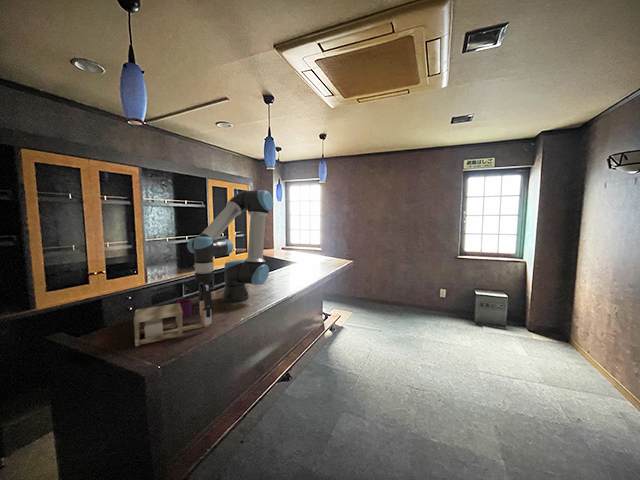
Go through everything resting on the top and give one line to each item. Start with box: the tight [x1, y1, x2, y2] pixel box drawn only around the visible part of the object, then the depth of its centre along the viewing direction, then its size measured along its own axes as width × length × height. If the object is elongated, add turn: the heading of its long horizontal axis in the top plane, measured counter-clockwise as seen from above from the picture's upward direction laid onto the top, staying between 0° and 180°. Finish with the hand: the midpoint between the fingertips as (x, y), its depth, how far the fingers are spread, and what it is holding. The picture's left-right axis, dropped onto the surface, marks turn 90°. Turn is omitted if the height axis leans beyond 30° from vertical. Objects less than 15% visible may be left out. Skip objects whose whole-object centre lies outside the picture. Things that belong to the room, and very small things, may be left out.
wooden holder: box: [133, 303, 184, 347], centre depth 105 cm, size 16×13×10 cm
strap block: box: [144, 301, 211, 339], centre depth 108 cm, size 24×6×11 cm, turn 123°
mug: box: [175, 299, 193, 319], centre depth 125 cm, size 7×10×7 cm
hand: (205, 318), depth 114 cm, fingers open, 12 cm apart
